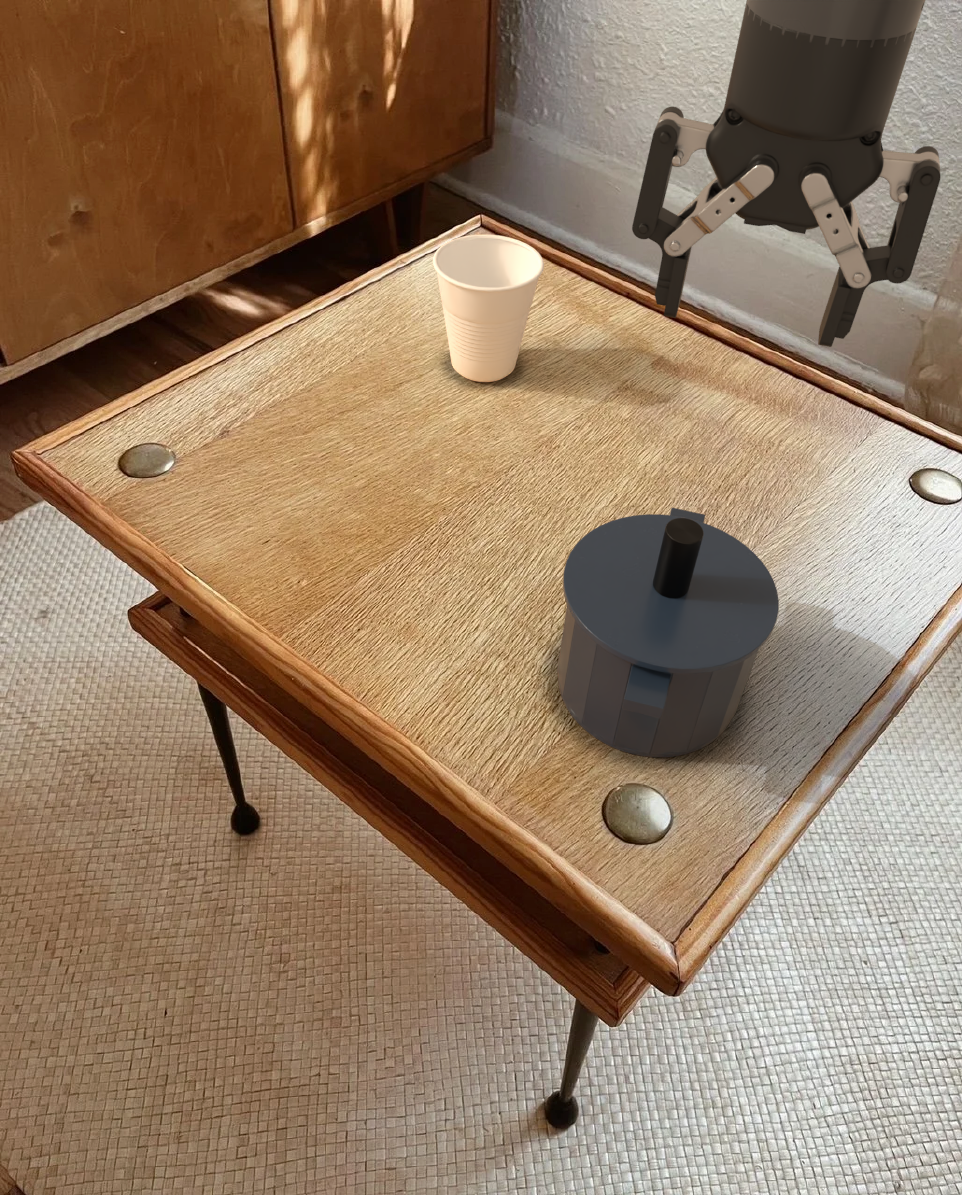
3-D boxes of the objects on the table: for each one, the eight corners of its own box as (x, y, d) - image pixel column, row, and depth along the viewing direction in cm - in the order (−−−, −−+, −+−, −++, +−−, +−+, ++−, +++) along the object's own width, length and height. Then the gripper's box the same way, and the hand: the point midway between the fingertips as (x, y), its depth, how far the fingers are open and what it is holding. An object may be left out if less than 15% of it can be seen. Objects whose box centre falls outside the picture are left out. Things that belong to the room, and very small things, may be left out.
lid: (783, 551, 70) (807, 484, 65) (764, 704, 61) (790, 638, 56) (586, 508, 72) (597, 440, 68) (539, 648, 63) (547, 581, 58)
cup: (551, 385, 97) (562, 279, 89) (453, 404, 95) (456, 297, 87) (510, 330, 104) (518, 227, 96) (417, 347, 101) (417, 242, 93)
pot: (749, 615, 78) (781, 523, 71) (719, 812, 66) (754, 723, 59) (586, 577, 80) (602, 483, 73) (529, 761, 68) (541, 669, 61)
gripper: (661, 6, 44) (610, 336, 56) (1007, 54, 42) (877, 386, 54) (684, -41, 49) (633, 270, 61) (994, -1, 47) (878, 314, 59)
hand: (747, 324), depth 57 cm, fingers open, 8 cm apart
